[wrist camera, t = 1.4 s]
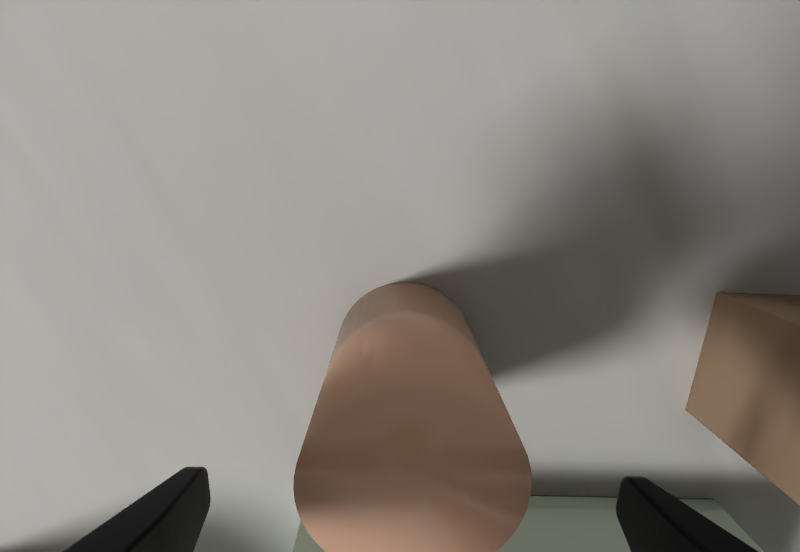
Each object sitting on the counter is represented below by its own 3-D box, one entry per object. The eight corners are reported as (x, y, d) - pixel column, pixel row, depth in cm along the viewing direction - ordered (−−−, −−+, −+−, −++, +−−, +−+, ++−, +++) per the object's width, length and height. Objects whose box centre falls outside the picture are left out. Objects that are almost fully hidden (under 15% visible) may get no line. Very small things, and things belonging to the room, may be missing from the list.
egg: (475, 284, 14) (547, 390, 8) (464, 404, 16) (516, 582, 9) (338, 280, 14) (288, 382, 8) (339, 401, 16) (297, 579, 9)
